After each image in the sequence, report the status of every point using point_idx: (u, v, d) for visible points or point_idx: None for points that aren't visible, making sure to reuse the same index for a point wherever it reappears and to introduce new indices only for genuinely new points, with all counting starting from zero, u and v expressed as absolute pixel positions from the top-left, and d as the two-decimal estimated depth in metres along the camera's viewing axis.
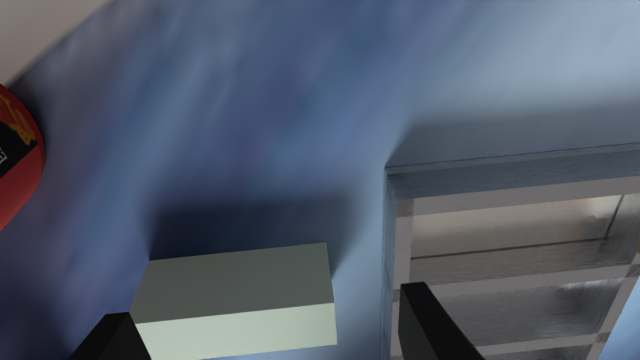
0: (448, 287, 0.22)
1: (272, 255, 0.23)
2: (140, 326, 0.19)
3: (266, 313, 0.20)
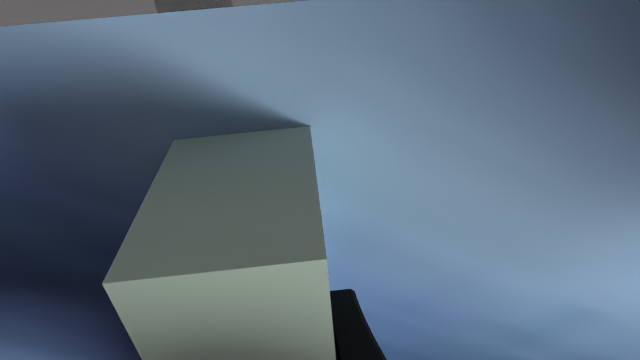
0: None
1: None
2: None
3: None
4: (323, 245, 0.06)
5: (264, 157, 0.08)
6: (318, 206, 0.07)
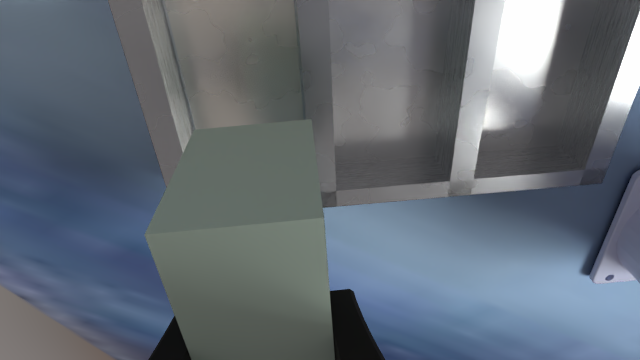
0: (315, 146, 0.16)
1: None
2: None
3: (201, 349, 0.09)
4: (321, 208, 0.08)
5: (272, 144, 0.10)
6: (317, 180, 0.08)
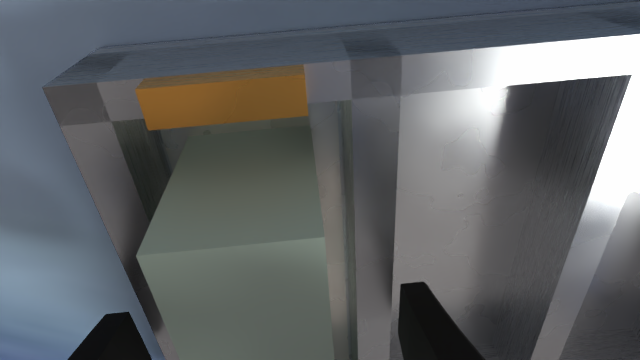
0: None
1: None
2: None
3: None
4: (322, 226, 0.07)
5: (270, 152, 0.10)
6: (317, 194, 0.08)
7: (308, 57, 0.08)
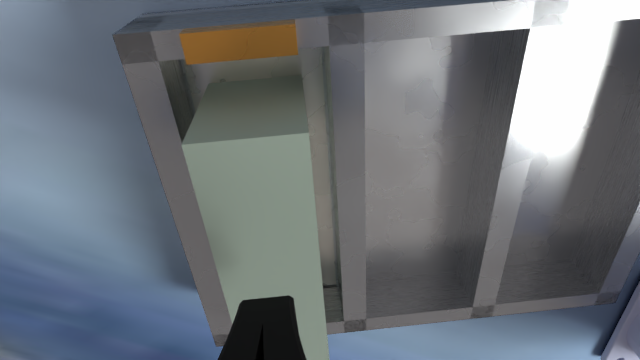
0: (348, 286, 0.17)
1: None
2: None
3: (219, 242, 0.12)
4: (307, 127, 0.11)
5: (271, 91, 0.13)
6: (305, 112, 0.11)
7: (298, 15, 0.11)
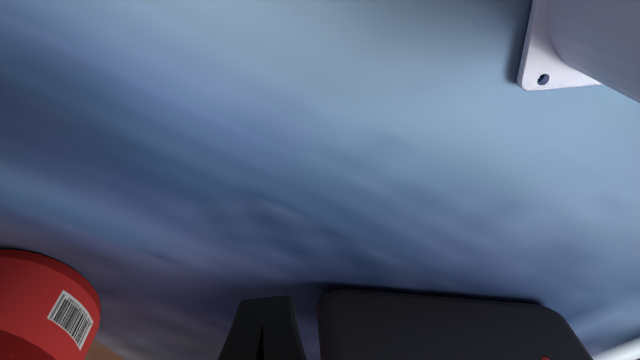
0: None
1: None
2: None
3: None
4: None
5: None
6: None
7: None
